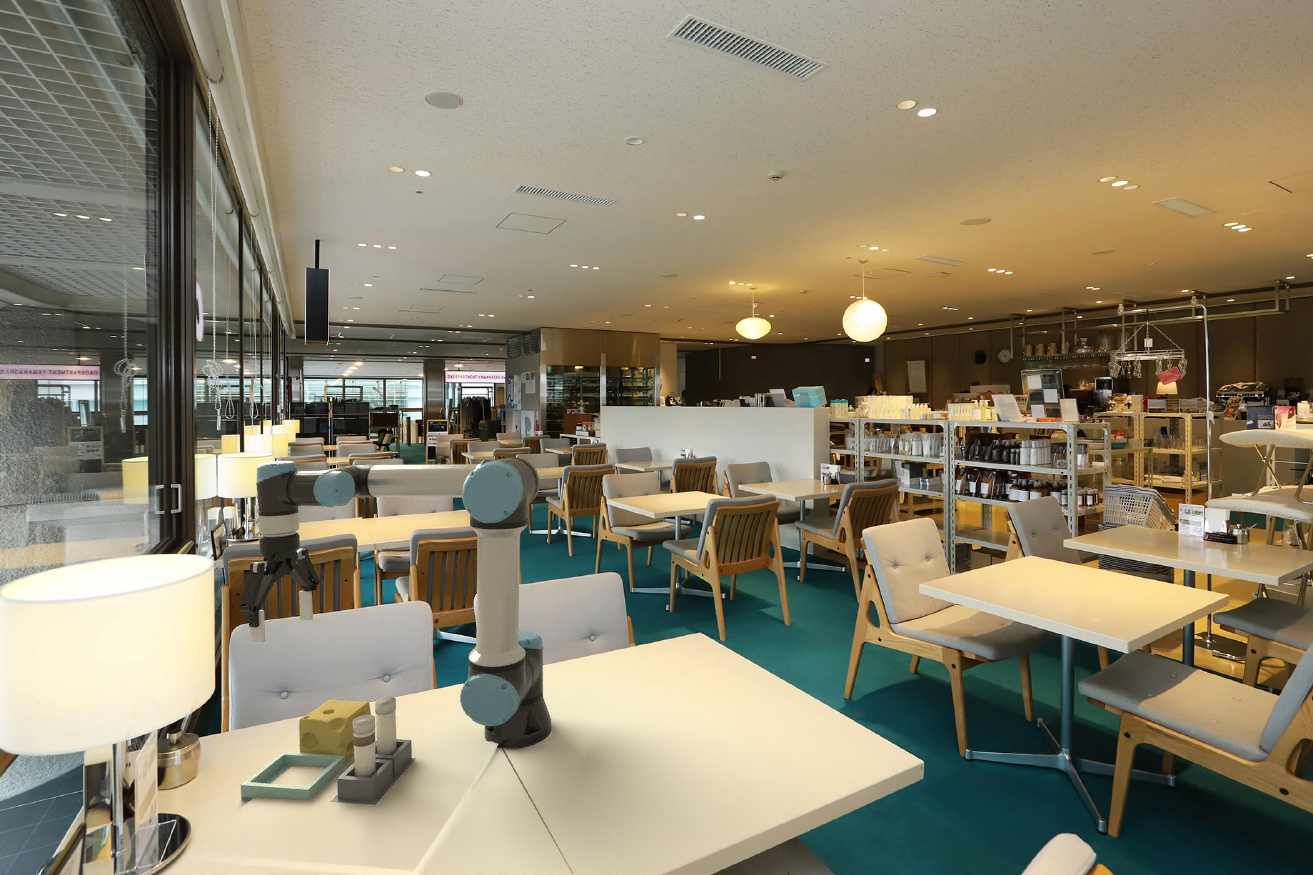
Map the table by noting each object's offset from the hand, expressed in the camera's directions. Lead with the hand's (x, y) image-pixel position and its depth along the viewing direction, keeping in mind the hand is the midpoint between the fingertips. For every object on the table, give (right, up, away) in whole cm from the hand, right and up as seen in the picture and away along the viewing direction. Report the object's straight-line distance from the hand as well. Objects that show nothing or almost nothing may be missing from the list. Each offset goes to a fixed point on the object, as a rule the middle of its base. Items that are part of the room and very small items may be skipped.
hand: (283, 629), depth 142 cm
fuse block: (+24, -28, -10) cm, 38 cm away
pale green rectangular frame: (+8, -28, -10) cm, 31 cm away
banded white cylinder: (+24, -27, -14) cm, 39 cm away
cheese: (+11, -28, +1) cm, 30 cm away
